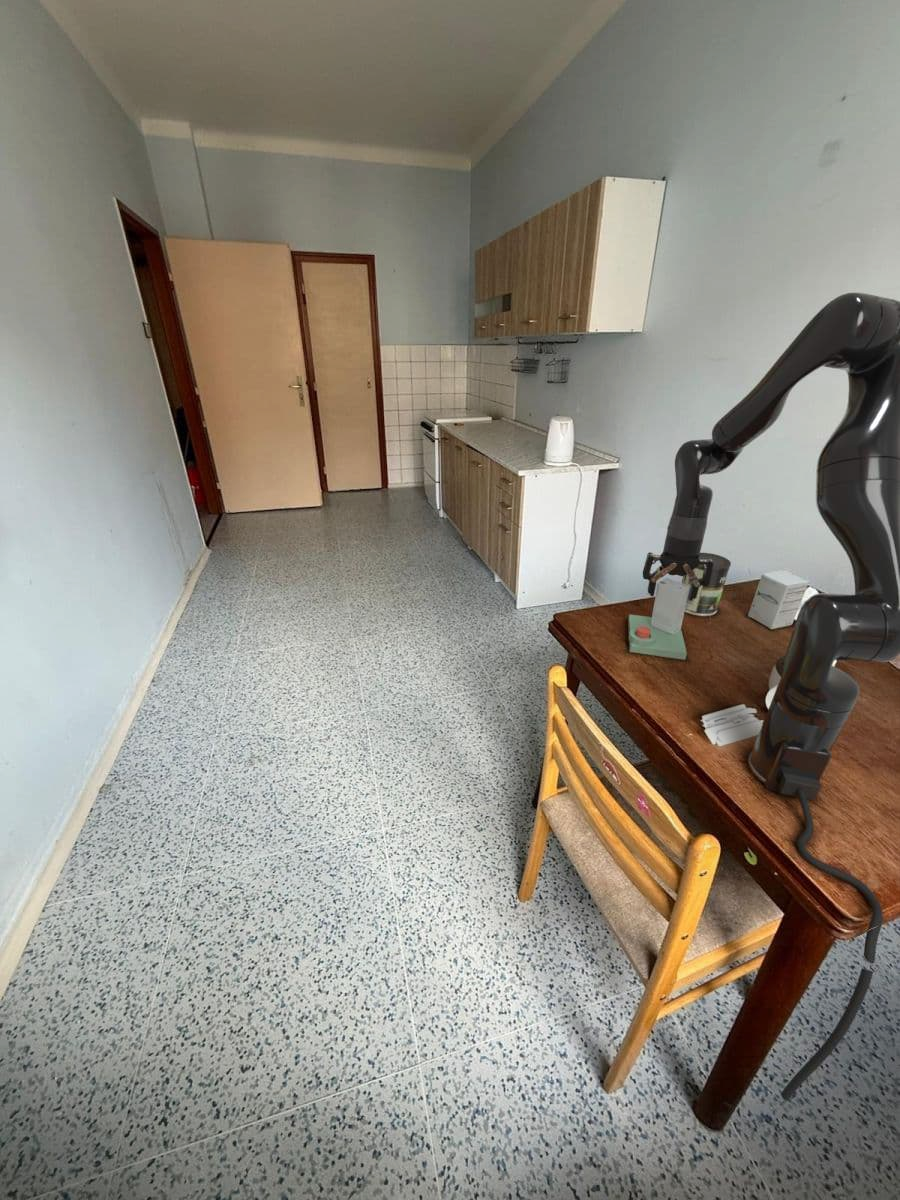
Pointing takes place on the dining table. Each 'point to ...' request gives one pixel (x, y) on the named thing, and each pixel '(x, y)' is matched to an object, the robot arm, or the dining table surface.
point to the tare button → (643, 632)
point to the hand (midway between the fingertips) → (670, 597)
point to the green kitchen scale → (655, 640)
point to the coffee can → (712, 593)
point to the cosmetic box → (669, 605)
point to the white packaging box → (777, 599)
